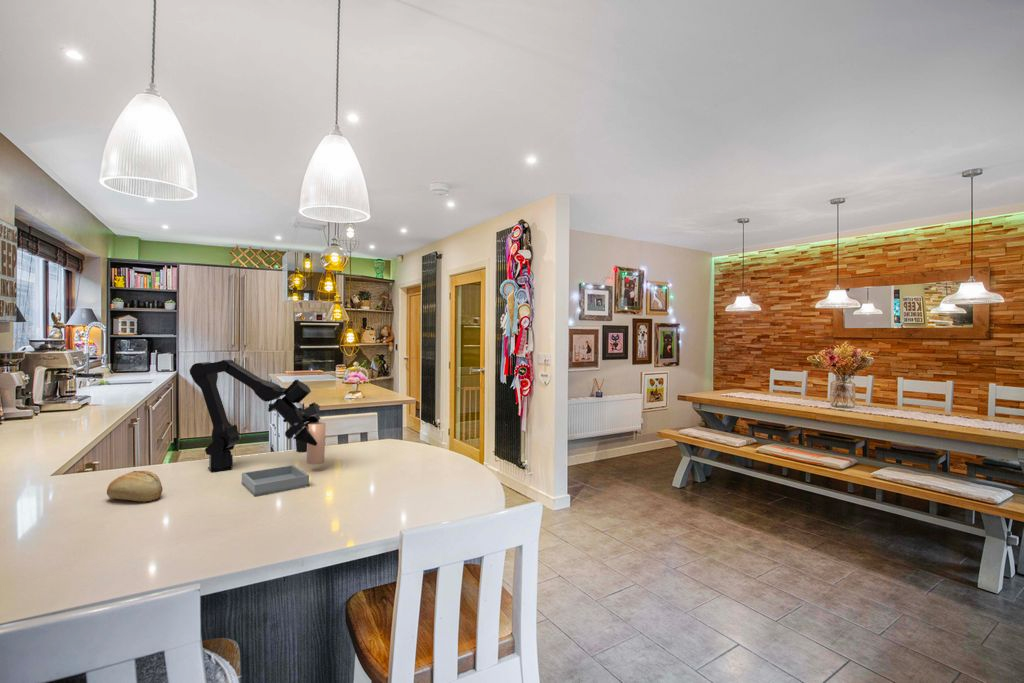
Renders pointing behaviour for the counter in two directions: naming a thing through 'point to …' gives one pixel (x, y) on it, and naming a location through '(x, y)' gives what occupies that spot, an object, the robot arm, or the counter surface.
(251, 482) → the tray
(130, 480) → the bread roll
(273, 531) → the counter surface
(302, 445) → the drinking cup
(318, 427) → the canister
